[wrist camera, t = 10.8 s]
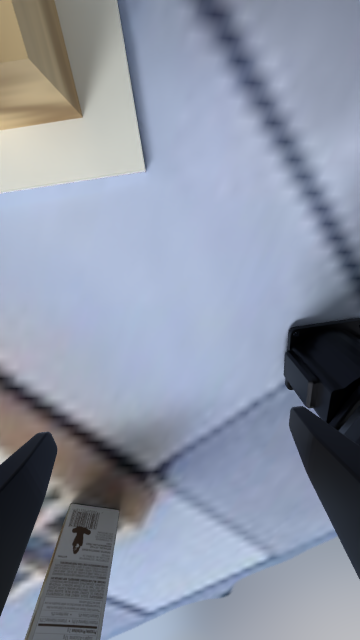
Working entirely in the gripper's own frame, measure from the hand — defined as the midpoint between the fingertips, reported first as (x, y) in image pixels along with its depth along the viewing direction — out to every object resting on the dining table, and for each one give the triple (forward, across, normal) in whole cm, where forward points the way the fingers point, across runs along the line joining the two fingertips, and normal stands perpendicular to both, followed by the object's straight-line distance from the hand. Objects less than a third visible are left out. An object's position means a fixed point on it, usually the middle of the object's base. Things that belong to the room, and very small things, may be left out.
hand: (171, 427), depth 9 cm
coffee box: (+12, +14, +29) cm, 34 cm away
